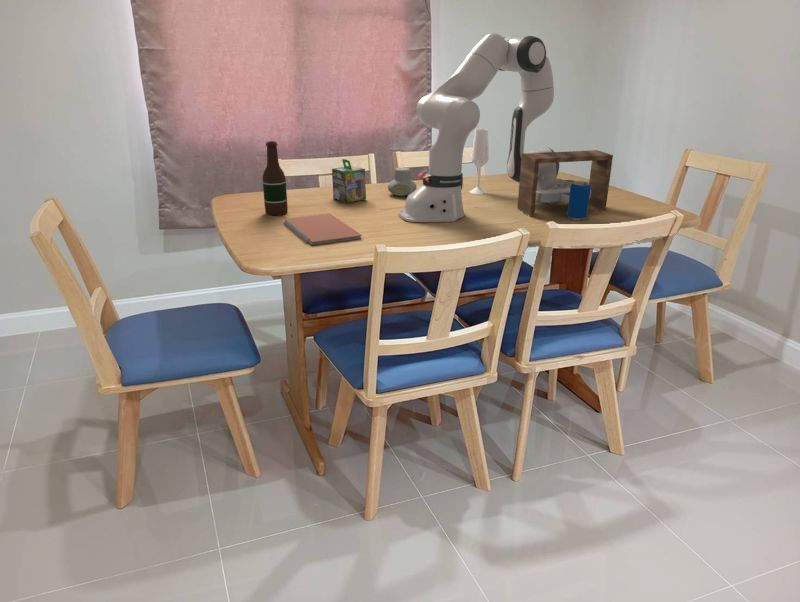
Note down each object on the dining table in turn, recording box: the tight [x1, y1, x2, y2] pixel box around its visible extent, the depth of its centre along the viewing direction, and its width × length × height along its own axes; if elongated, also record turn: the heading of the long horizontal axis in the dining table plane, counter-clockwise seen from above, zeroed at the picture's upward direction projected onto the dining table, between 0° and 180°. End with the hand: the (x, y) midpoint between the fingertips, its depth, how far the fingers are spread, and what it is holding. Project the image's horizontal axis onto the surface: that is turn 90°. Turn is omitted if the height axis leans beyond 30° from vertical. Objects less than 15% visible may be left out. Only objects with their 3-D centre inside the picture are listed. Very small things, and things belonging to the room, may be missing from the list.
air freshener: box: [387, 166, 418, 198], centre depth 239 cm, size 11×8×10 cm
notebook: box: [283, 213, 363, 246], centre depth 197 cm, size 27×17×2 cm, turn 27°
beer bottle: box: [262, 140, 289, 217], centre depth 210 cm, size 8×8×24 cm
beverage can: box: [566, 180, 591, 221], centre depth 209 cm, size 6×6×12 cm
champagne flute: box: [469, 127, 490, 195], centre depth 241 cm, size 7×7×24 cm
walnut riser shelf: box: [516, 149, 614, 217], centre depth 217 cm, size 29×10×20 cm, turn 106°
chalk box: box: [331, 158, 367, 204], centre depth 231 cm, size 9×9×15 cm
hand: (573, 199), depth 212 cm, fingers closed, pressing on beverage can
